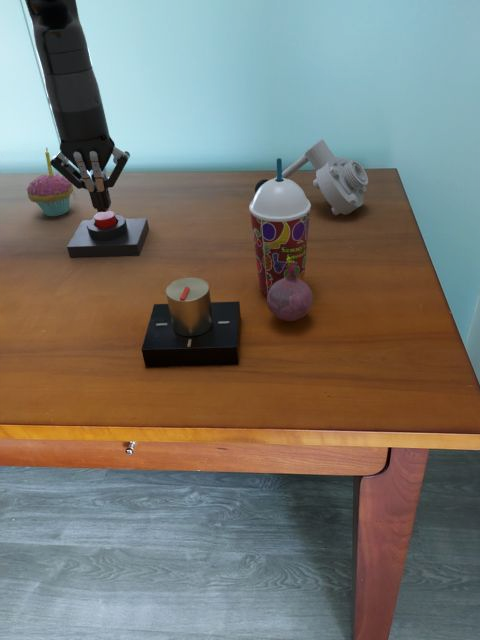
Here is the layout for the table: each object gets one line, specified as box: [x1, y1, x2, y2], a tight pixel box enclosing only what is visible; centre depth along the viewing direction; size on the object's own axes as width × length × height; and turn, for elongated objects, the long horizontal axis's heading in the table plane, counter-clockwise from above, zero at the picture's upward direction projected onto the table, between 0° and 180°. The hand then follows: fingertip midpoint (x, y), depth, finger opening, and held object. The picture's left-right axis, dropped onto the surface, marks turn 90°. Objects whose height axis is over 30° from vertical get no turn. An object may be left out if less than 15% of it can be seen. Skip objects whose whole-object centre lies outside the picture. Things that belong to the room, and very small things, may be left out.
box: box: [66, 213, 150, 259], centre depth 93 cm, size 12×10×4 cm
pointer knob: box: [165, 277, 213, 336], centre depth 68 cm, size 5×5×6 cm
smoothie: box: [248, 157, 312, 297], centre depth 74 cm, size 8×8×20 cm
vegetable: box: [266, 257, 314, 322], centre depth 71 cm, size 6×6×10 cm
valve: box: [254, 138, 369, 216], centre depth 101 cm, size 10×20×15 cm
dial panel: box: [141, 300, 242, 368], centre depth 70 cm, size 12×10×3 cm
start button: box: [93, 210, 117, 228], centre depth 91 cm, size 4×4×2 cm
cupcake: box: [26, 146, 74, 217], centre depth 101 cm, size 9×8×12 cm
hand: (103, 210), depth 90 cm, fingers closed
